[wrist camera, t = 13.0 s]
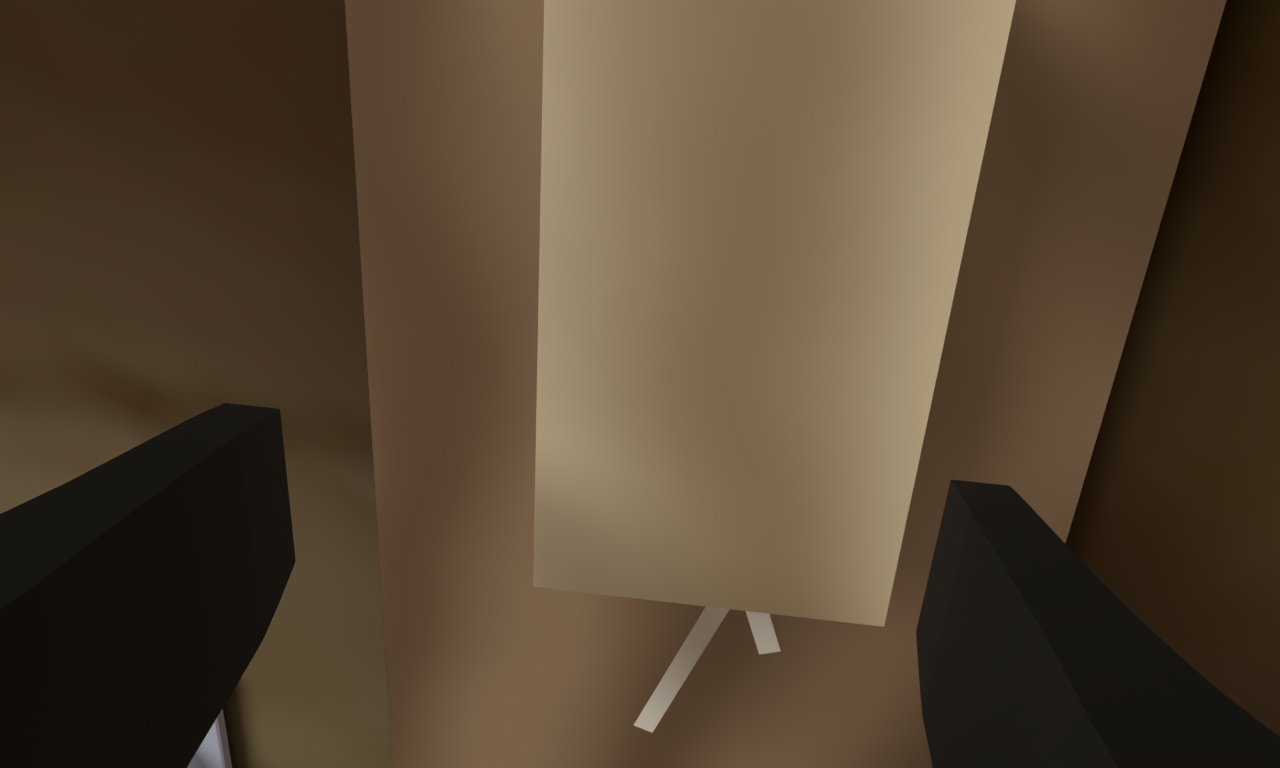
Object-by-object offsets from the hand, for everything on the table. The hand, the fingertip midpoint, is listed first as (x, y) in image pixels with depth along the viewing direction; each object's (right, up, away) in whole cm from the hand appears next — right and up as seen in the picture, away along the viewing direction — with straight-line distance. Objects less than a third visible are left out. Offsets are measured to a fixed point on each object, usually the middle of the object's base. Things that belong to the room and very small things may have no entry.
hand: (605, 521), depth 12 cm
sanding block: (+2, +5, +6) cm, 8 cm away
